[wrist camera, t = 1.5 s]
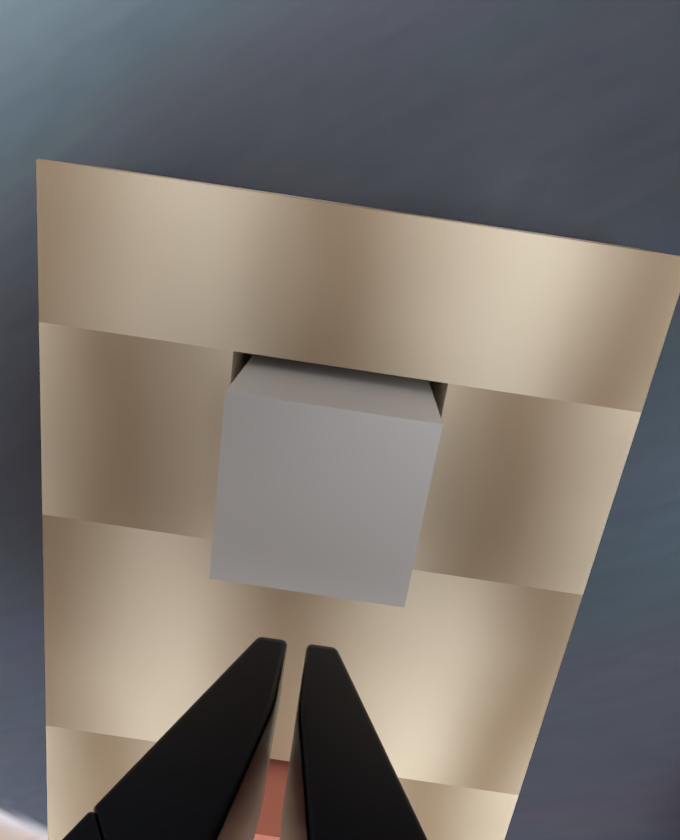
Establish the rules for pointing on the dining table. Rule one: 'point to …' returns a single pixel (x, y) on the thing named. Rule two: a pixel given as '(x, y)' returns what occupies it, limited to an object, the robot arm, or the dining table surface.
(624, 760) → the dining table surface
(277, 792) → the button red
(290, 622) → the console
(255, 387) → the button grey
